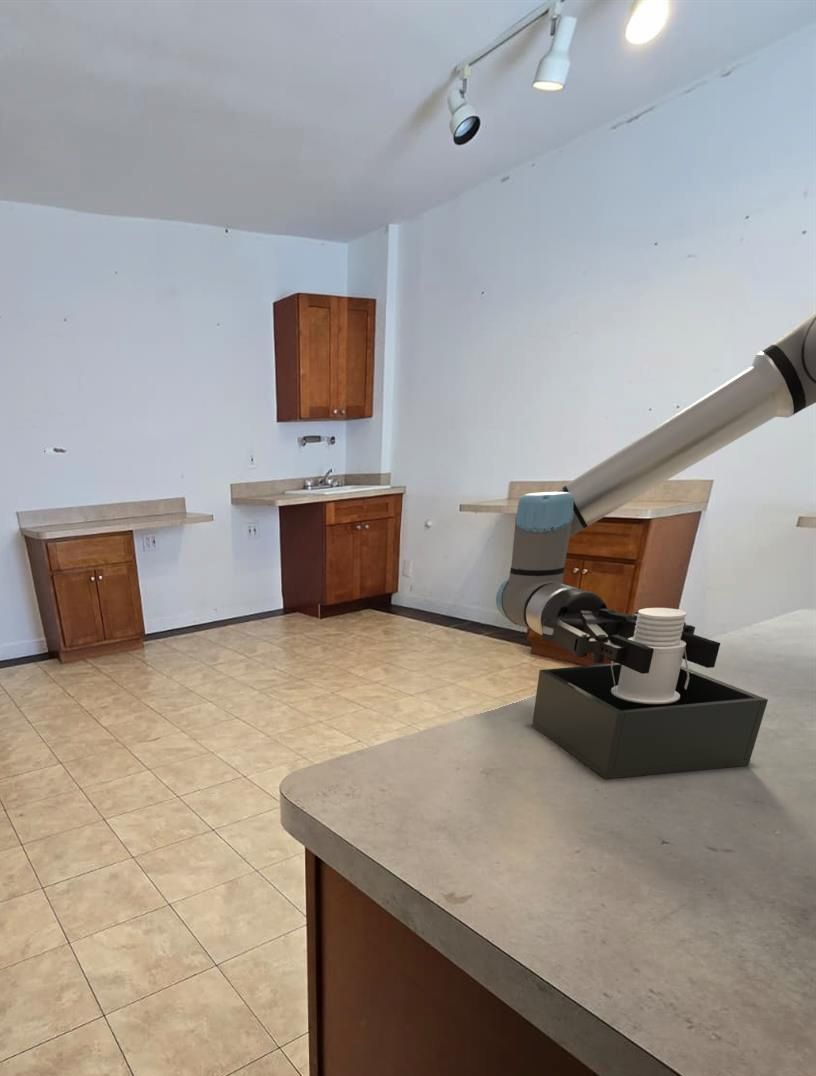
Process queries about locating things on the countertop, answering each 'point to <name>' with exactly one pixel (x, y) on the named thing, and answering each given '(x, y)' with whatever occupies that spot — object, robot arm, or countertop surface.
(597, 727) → the dark grey open box
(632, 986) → the countertop surface
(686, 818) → the countertop surface
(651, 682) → the downlight
